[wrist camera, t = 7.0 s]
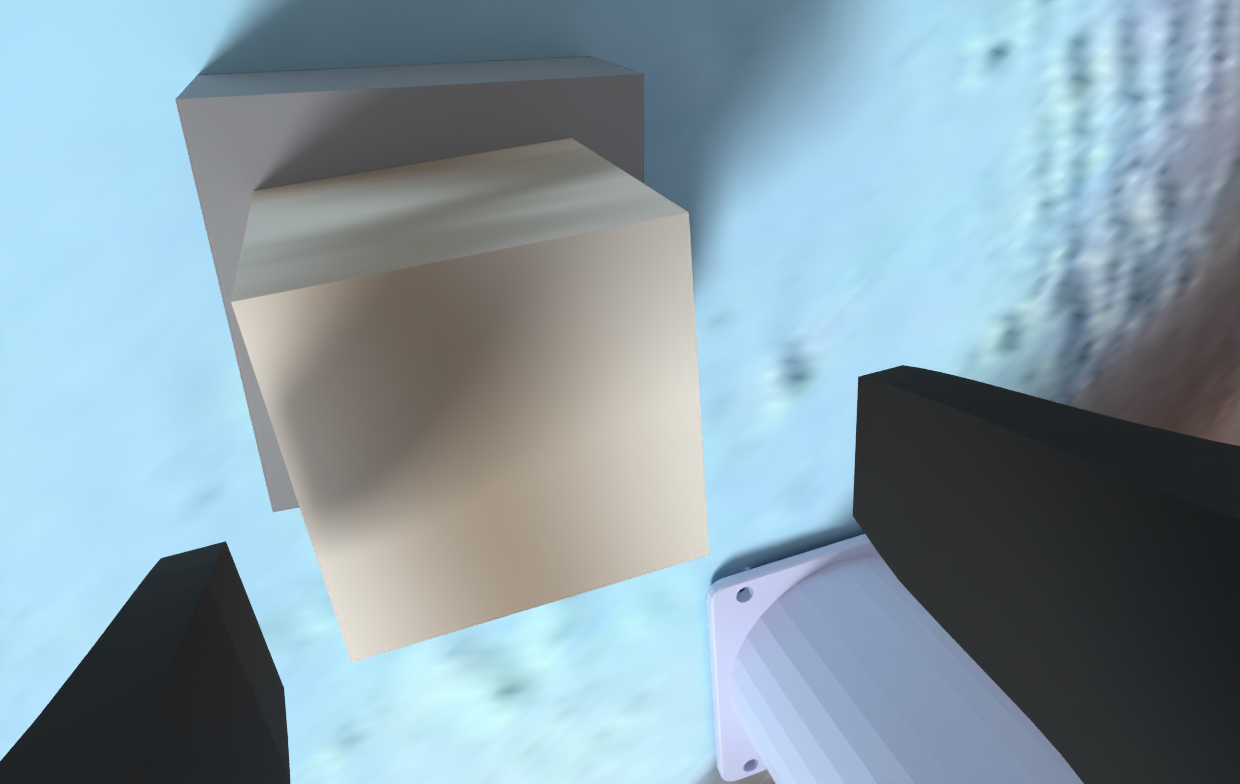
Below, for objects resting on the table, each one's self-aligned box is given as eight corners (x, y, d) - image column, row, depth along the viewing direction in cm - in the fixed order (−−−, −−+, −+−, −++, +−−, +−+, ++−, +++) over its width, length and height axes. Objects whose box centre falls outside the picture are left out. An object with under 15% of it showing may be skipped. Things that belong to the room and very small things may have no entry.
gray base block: (583, 54, 17) (643, 73, 14) (592, 373, 20) (643, 444, 17) (199, 72, 15) (175, 100, 12) (276, 422, 18) (272, 511, 15)
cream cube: (571, 137, 14) (688, 212, 10) (603, 402, 16) (709, 554, 12) (253, 191, 13) (231, 301, 9) (336, 467, 15) (351, 662, 11)
